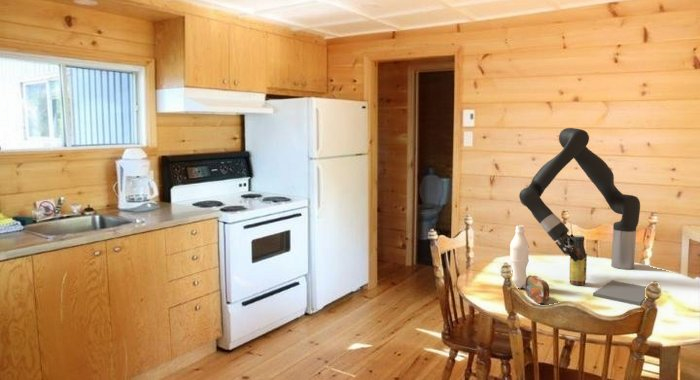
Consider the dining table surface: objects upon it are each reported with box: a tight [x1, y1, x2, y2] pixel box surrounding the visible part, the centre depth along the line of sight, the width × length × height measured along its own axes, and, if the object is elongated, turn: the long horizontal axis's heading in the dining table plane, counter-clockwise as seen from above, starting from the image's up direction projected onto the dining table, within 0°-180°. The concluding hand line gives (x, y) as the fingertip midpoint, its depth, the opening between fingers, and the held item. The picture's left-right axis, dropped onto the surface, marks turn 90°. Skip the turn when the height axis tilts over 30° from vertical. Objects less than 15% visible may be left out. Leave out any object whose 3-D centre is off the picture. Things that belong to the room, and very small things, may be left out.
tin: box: [525, 274, 551, 304], centre depth 190 cm, size 15×3×8 cm, turn 5°
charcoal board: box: [592, 280, 647, 307], centre depth 197 cm, size 22×16×1 cm
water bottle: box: [509, 224, 530, 290], centre depth 205 cm, size 7×7×25 cm
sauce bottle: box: [569, 234, 588, 286], centre depth 209 cm, size 6×6×20 cm
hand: (581, 258), depth 208 cm, fingers open, 8 cm apart
